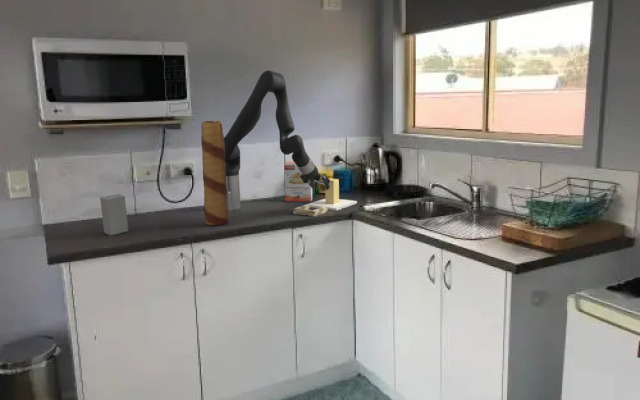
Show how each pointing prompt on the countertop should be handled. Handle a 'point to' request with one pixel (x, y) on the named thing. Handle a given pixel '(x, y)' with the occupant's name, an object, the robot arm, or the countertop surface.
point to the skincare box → (114, 214)
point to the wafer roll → (214, 173)
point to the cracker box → (296, 185)
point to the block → (332, 192)
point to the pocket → (306, 210)
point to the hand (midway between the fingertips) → (321, 187)
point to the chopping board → (335, 207)
